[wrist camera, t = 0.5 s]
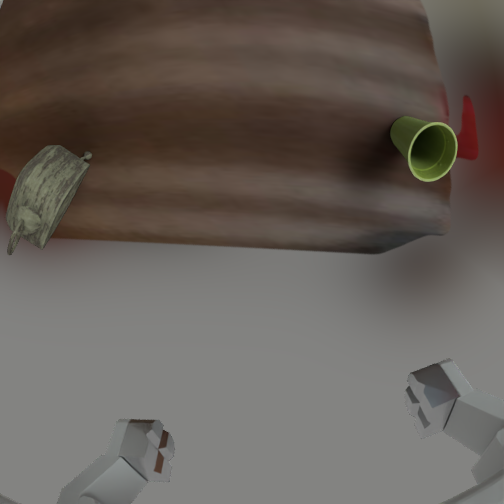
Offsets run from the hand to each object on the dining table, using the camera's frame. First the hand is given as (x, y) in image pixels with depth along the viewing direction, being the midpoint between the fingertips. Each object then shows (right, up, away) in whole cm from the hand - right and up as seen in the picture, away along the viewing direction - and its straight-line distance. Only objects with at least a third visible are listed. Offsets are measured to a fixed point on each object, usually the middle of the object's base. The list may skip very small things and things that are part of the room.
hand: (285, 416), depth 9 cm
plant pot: (+30, +30, +46) cm, 62 cm away
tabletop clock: (-38, +22, +43) cm, 62 cm away
